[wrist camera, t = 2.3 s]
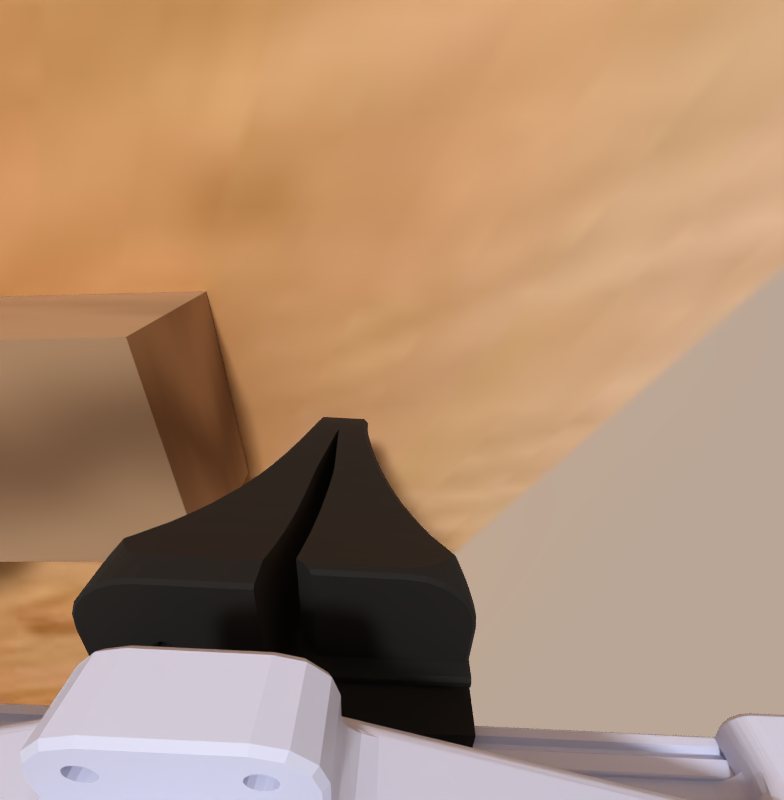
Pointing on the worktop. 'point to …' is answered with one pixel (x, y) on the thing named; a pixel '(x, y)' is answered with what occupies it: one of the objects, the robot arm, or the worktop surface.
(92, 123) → the worktop surface
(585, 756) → the robot arm
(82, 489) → the tan wooden chunk
